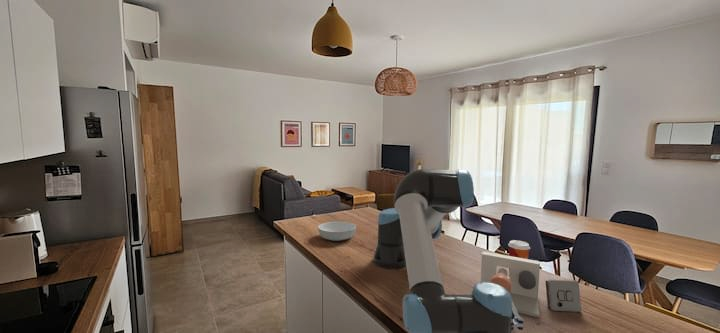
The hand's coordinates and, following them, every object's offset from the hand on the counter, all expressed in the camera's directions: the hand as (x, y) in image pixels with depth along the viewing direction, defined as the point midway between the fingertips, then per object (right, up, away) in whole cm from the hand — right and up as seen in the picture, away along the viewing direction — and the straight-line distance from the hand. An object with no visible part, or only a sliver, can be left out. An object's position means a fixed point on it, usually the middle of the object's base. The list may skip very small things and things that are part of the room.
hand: (500, 291), depth 92 cm
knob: (+4, -2, +7) cm, 9 cm away
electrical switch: (+22, -7, +5) cm, 24 cm away
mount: (+7, -7, +9) cm, 13 cm away
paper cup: (+19, -6, +26) cm, 33 cm away
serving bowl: (-56, -1, +71) cm, 91 cm away
